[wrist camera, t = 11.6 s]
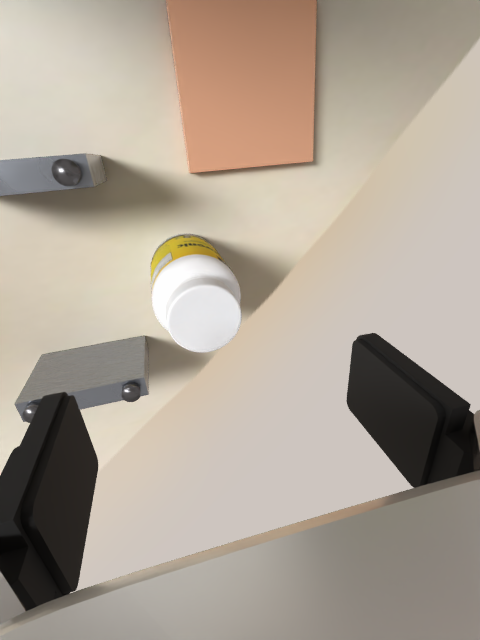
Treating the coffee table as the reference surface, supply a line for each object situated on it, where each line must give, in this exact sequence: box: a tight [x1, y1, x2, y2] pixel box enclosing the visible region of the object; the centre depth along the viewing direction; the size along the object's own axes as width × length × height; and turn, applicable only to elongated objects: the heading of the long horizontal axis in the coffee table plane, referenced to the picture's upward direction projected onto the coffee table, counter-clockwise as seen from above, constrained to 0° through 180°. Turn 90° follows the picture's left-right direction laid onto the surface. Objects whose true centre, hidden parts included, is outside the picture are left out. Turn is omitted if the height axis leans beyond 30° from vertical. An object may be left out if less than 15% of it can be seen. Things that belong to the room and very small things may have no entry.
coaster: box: [166, 0, 317, 173], centre depth 21 cm, size 9×9×1 cm
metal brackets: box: [0, 154, 149, 423], centre depth 21 cm, size 15×8×7 cm, turn 5°
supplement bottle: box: [151, 234, 242, 352], centre depth 21 cm, size 5×5×10 cm
